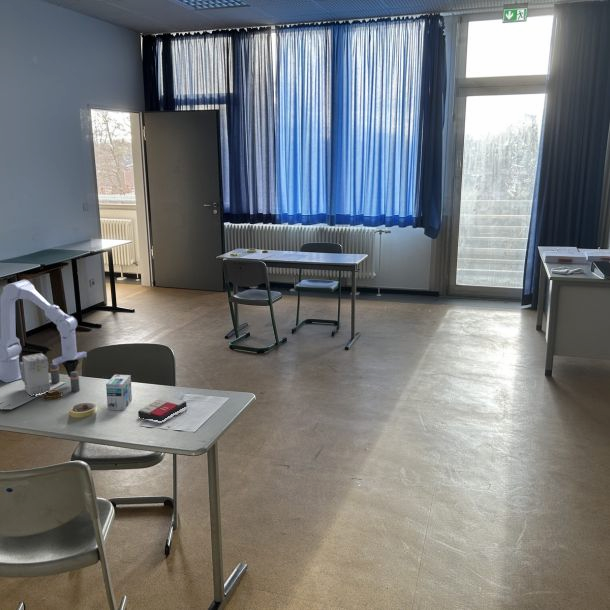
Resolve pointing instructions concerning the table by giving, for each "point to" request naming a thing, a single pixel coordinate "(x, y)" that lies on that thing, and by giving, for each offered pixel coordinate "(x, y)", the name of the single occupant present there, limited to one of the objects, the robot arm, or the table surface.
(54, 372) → the left cable post
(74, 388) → the post
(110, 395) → the light bulb box
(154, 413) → the red black flat box
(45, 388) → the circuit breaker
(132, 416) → the table surface
